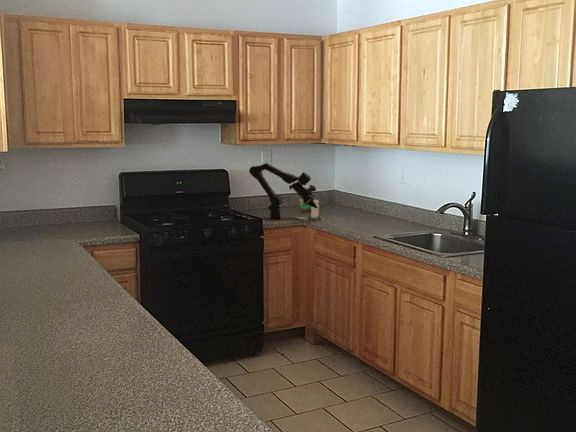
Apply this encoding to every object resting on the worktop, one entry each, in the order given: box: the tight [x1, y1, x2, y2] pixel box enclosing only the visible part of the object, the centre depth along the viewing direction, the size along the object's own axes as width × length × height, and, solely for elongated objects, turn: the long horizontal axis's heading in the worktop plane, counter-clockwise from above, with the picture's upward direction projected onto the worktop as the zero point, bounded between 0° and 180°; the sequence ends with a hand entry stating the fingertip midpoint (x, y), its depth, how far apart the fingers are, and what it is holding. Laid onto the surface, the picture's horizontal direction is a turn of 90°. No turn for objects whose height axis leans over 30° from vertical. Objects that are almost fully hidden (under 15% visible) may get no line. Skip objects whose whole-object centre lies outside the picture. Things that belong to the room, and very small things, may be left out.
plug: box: [310, 199, 320, 218], centre depth 430 cm, size 5×5×12 cm
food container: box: [298, 198, 317, 214], centre depth 461 cm, size 12×6×10 cm, turn 73°
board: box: [296, 215, 325, 222], centre depth 433 cm, size 14×17×2 cm
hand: (316, 206), depth 429 cm, fingers open, 9 cm apart
